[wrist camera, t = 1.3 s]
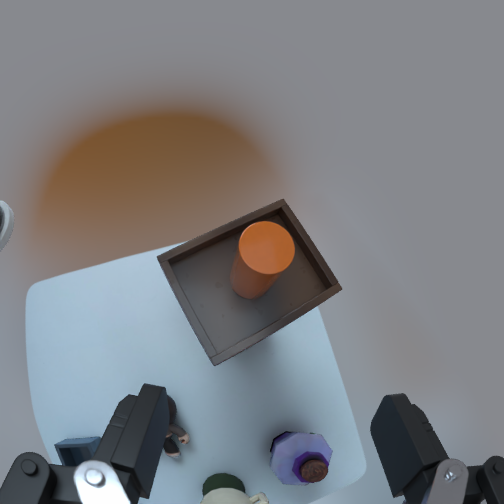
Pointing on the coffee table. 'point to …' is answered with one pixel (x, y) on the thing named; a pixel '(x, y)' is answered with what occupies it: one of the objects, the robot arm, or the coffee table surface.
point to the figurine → (169, 444)
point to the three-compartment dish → (76, 450)
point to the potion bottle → (300, 458)
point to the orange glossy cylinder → (260, 259)
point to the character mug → (228, 491)
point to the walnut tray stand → (230, 303)
